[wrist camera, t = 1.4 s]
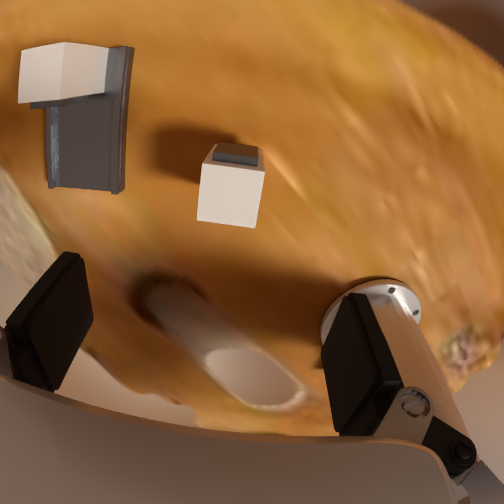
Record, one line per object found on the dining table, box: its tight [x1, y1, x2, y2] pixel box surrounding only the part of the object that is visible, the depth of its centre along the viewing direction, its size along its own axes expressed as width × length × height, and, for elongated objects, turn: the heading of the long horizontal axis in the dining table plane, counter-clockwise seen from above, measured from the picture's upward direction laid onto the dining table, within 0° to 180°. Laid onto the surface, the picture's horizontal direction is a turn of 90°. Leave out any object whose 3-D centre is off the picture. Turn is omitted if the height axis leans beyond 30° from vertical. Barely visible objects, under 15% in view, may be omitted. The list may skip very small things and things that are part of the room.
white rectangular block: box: [197, 141, 265, 228], centre depth 23 cm, size 5×4×7 cm
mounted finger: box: [18, 42, 109, 109], centre depth 18 cm, size 5×4×7 cm
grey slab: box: [46, 46, 135, 194], centre depth 23 cm, size 13×8×2 cm, turn 171°
